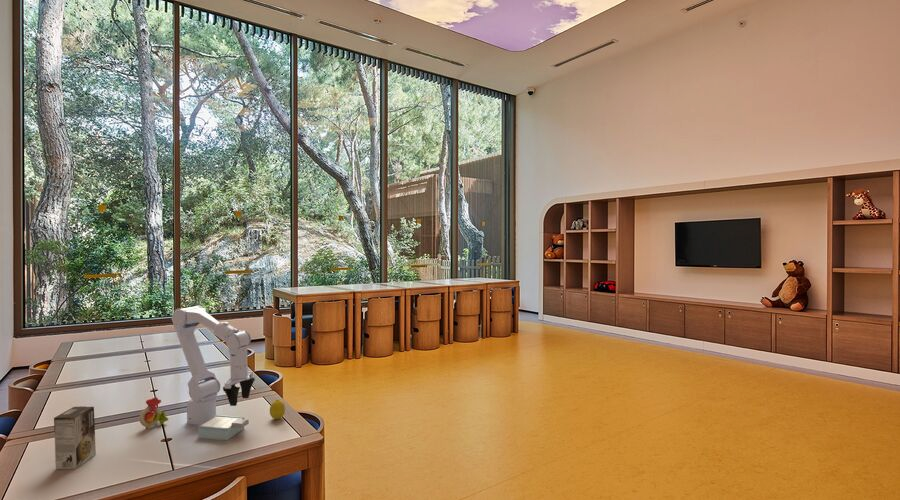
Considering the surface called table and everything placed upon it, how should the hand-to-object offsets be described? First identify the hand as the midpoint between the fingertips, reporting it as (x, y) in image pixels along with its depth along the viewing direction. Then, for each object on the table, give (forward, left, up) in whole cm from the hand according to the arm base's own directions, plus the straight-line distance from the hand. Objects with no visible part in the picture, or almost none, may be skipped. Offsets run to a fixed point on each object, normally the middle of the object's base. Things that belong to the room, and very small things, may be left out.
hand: (239, 401), depth 174 cm
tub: (-3, -6, -10) cm, 12 cm away
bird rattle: (-32, -4, -10) cm, 34 cm away
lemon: (+10, +9, -10) cm, 17 cm away
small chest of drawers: (-1, -6, -6) cm, 8 cm away
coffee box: (-35, -32, -10) cm, 49 cm away
